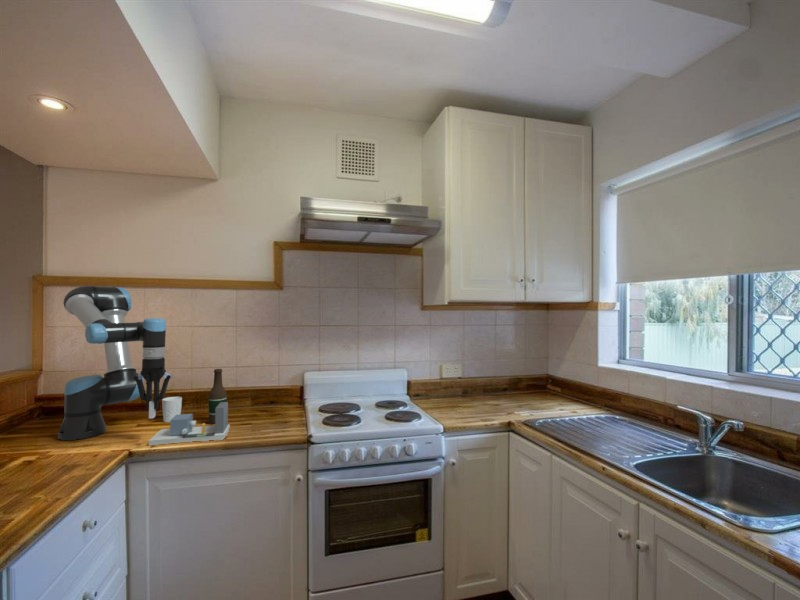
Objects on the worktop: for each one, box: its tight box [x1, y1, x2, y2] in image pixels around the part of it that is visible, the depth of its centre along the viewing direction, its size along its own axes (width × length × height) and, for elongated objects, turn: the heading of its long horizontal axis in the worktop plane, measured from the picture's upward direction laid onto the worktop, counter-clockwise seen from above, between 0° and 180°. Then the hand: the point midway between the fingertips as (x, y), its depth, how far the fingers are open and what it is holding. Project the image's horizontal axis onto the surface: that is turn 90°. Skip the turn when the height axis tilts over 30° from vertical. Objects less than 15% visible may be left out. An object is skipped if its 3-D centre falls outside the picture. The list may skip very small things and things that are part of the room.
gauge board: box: [148, 401, 231, 446], centre depth 154 cm, size 26×14×12 cm, turn 105°
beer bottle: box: [208, 368, 228, 425], centre depth 174 cm, size 8×8×24 cm
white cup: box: [161, 396, 183, 423], centre depth 177 cm, size 8×8×10 cm
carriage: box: [169, 413, 197, 436], centre depth 152 cm, size 8×11×6 cm
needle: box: [201, 422, 206, 434], centre depth 150 cm, size 1×2×4 cm, turn 15°
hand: (152, 417), depth 151 cm, fingers closed
